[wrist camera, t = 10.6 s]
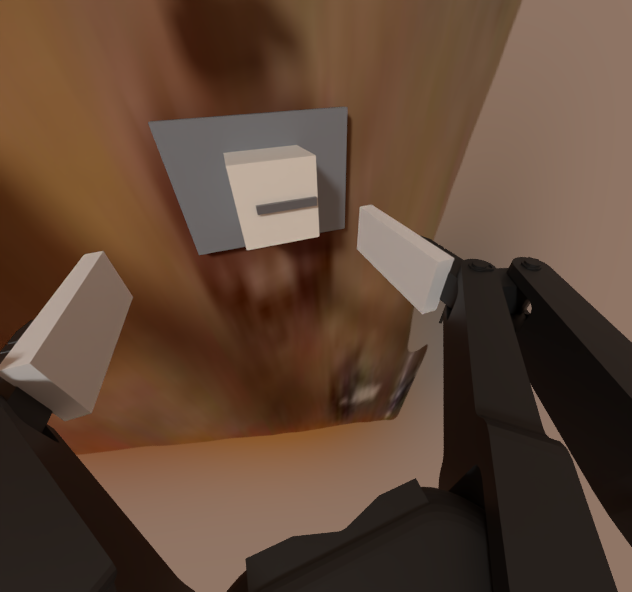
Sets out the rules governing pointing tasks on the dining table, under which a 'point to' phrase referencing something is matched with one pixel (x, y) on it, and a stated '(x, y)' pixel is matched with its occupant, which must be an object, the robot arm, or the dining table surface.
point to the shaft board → (240, 135)
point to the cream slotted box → (274, 194)
